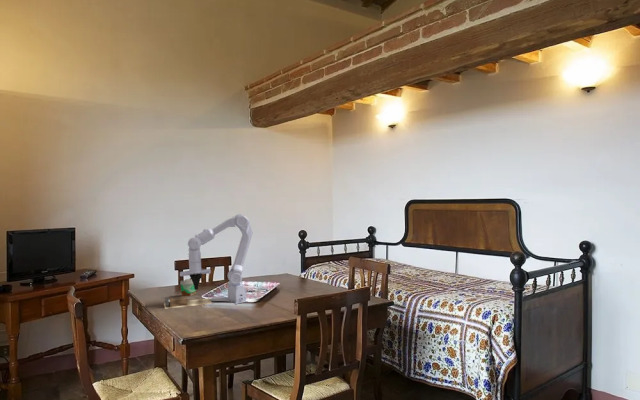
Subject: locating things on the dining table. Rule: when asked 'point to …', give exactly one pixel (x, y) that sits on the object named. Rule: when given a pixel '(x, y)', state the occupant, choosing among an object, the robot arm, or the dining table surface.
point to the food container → (187, 288)
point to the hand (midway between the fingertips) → (196, 289)
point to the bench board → (193, 303)
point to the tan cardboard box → (178, 301)
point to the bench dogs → (167, 302)
